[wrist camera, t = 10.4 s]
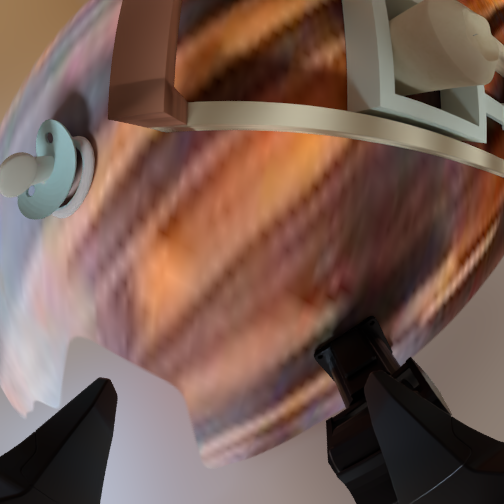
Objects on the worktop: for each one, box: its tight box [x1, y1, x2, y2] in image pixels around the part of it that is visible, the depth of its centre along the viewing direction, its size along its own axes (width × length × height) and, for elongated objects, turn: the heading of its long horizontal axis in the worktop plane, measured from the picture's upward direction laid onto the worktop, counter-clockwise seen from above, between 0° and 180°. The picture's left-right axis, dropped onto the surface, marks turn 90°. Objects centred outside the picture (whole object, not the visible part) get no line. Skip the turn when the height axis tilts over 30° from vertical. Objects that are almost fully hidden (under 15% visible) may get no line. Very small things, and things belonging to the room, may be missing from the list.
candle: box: [389, 0, 499, 96], centre depth 10 cm, size 6×6×10 cm
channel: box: [108, 0, 504, 178], centre depth 10 cm, size 36×13×9 cm, turn 89°
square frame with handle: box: [342, 0, 504, 143], centre depth 12 cm, size 22×10×7 cm, turn 89°
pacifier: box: [0, 120, 95, 219], centre depth 13 cm, size 7×6×6 cm
